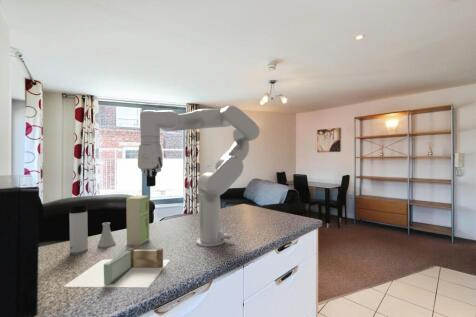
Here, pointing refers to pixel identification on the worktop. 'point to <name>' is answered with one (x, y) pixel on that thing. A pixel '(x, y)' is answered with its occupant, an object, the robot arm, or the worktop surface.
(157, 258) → the fixed fence section
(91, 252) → the worktop surface
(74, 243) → the travel mug
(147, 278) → the card
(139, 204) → the toy refrigerator
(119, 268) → the mint green long bar
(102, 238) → the flask
